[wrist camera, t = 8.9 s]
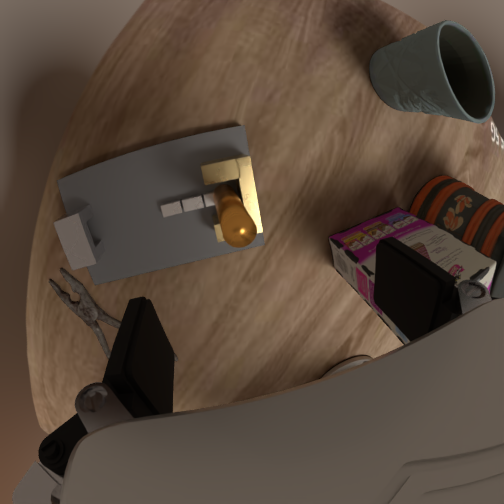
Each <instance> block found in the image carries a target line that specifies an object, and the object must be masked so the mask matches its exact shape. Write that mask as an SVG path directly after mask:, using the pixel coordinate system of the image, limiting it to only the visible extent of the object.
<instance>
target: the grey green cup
mask: <svg viewBox="0 0 504 504" xmlns="http://www.w3.org/2000/svg"><path fill="white" fill-rule="evenodd" d="M369 72H370V78H371V81H372V85H373V87H374V89H375V91H376V92H377V94H378V95H379V96H380V99H381V100H383V101H384V102H385V103H386V104H387V105H388V106H390V107H392V108H394V109H396V110H399V111H407V112H421V111H422V112H424V113H425V114H434V115H443V116H447V117H452V118H457V119H462V120H466V121H470V122H474V123H484V122H485V121H487V120H488V119H489V118H490V116H491V114H492V111H493V108H494V102H495V87H494V80H493V76H492V73H491V69H490V66H489V63H488V60H487V58H486V56H485V54H484V52H483V50H482V48H481V47H480V45H479V43H478V42H477V41H476V39H475V38H474V37H473V35H472V34H471V33H470V32H469V31H468V30H467V29H466V28H464V27H463V26H462V25H460V24H458V23H456V22H453V21H447V20H445V21H442V22H440V23H437V24H435V25H433V26H430V27H428V28H426V29H423V30H421V31H418V32H417V33H416V34H412V35H409V36H407V37H405V38H402V40H401V41H398V42H395V43H391V44H389V45H387V46H384V47H382V48H380V49H379V50H377V51H376V52H375V53H374V54H373V56H372V58H371V60H370V66H369Z"/></svg>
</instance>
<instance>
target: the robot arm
mask: <svg viewBox="0 0 504 504" xmlns="http://www.w3.org/2000/svg"><path fill="white" fill-rule="evenodd" d="M455 281H456V277H454V276H453V275H451V274H450V273H448V272H447V271H446V270H444V269H443V268H441V267H440V266H438V265H437V264H435V263H434V262H432V261H431V260H429V259H428V258H426V257H424V256H423V255H421V254H420V253H418V252H417V251H415V250H414V249H412V248H410V247H409V246H407V245H406V244H404V243H402V242H401V241H399V240H397V239H396V238H394V237H388V238H384V239H381V240H380V241H379V243H378V244H377V246H376V263H375V281H374V294H373V299H374V302H375V304H376V305H377V306H378V307H379V308H380V309H381V310H382V311H383V312H384V314H385V315H386V316H387V317H388V318H389V319H390V320H391V321H392V322H393V323H394V324H395V325H396V326H397V327H398V329H399V330H400V331H401V332H402V333H403V334H404V335H405V336H406V337H407V338H408V340H409V341H410V342H409V343H407V344H405V345H403V346H401V347H399V348H397V349H395V350H392V351H390V352H388V353H386V354H383V355H381V356H379V357H376V358H374V359H372V358H371V357H368V356H359V357H355V358H351V359H348V360H346V361H344V362H342V363H340V364H338V365H337V366H335V367H333V368H332V369H331V370H329V371H328V372H327V373H326V374H325V375H324V376H323V377H322V378H321V379H318V380H315V381H312V382H309V383H306V384H303V385H299V386H296V387H293V388H289V389H286V390H282V391H279V392H275V393H271V394H267V395H263V396H259V397H255V398H251V399H247V400H242V401H238V402H233V403H228V404H223V405H217V406H212V407H207V408H201V409H195V410H189V411H182V412H175V413H173V381H174V361H175V356H174V351H173V349H172V346H171V344H170V342H169V340H168V338H167V336H166V334H165V332H164V329H163V327H162V325H161V323H160V321H159V318H158V316H157V314H156V311H155V309H154V307H153V304H152V302H151V300H150V299H147V300H146V298H145V297H138V298H134V299H130V300H129V303H128V305H127V308H126V311H125V314H124V316H123V319H122V322H121V325H120V328H119V331H118V334H117V337H116V339H115V342H114V345H113V348H112V351H111V354H110V357H109V361H108V364H107V367H106V371H105V374H104V378H103V381H102V383H101V382H96V383H92V384H89V385H87V386H85V387H84V388H83V389H82V390H81V391H80V392H79V393H78V395H77V397H76V400H75V408H76V411H77V414H76V415H74V416H73V417H72V418H70V419H69V420H68V421H67V422H65V423H64V424H63V425H61V426H60V427H59V428H58V429H56V430H55V431H54V432H52V433H51V434H50V435H49V436H47V437H46V438H45V439H44V440H43V441H42V443H41V445H40V447H39V459H40V462H39V463H38V462H36V461H35V462H34V463H33V465H32V466H31V467H30V469H29V470H28V471H27V473H26V474H25V476H24V477H23V478H22V480H21V481H20V483H19V484H18V486H17V487H16V489H15V490H14V492H13V498H12V500H13V504H504V298H496V297H491V296H490V293H489V290H488V289H487V287H486V286H485V285H484V284H482V283H480V282H478V281H476V280H463V281H461V282H460V283H459V284H458V287H455V286H454V285H455Z"/></svg>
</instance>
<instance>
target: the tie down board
mask: <svg viewBox="0 0 504 504" xmlns="http://www.w3.org/2000/svg"><path fill="white" fill-rule="evenodd" d="M241 154H245V155H248V156H250V154H249V149H248V143H247V137H246V132H245V126H244V125H243V126H237V127H231V128H226V129H221V130H216V131H211V132H206V133H202V134H197V135H193V136H188V137H184V138H180V139H176V140H172V141H169V142H165V143H161V144H158V145H154V146H151V147H147V148H144V149H140V150H137V151H134V152H131V153H128V154H125V155H122V156H119V157H116V158H113V159H110V160H107V161H104V162H102V163H99V164H96V165H94V166H91V167H88V168H86V169H83V170H81V171H78V172H76V173H73V174H71V175H69V176H66V177H64V178H62V179H59V180H57V183H58V187H59V190H60V194H61V197H62V201H63V204H64V207H65V210H66V213H68V212H71V211H73V210H76V209H79V208H81V207H84V206H87V205H90V206H91V210H92V213H93V217H92V218H91V219H89V220H88V221H87V222H86V223H87V226H88V229H89V231H90V234H91V237H92V240H93V242H96V241H100V240H102V242H103V244H104V247H105V250H106V251H105V252H104V254H103V255H102V257H101V258H100V260H99V261H98V263H97V264H94V265H90V266H87V268H88V271H89V273H90V275H91V277H92V280H93V282H94V284H95V285H98V284H102V283H107V282H111V281H115V280H119V279H123V278H127V277H131V276H135V275H140V274H144V273H148V272H152V271H156V270H160V269H165V268H169V267H173V266H177V265H181V264H185V263H190V262H194V261H198V260H202V259H206V258H211V257H215V256H219V255H223V254H228V253H232V252H236V251H240V250H244V249H249V248H253V247H257V246H261V245H265V243H264V237H263V232H261V233H257V234H256V237H255V239H254V241H253V242H252V243H251V244H249V245H248V246H245V247H242V248H236V247H232V246H230V245H229V244H227V243H226V241H222V242H218V241H217V236H216V232H215V228H214V223H213V218H212V215H215V214H217V211H216V207H215V205H212V206H208V207H206V204H205V200H204V195H203V193H207V192H212V191H214V190H215V188H216V187H217V186H219V185H222V184H227V185H229V186H231V187H232V188H233V190H234V191H235V193H236V194H237V196H238V191H237V186H236V180H235V179H232V180H227V181H223V182H218V183H214V184H209V185H205V184H204V179H203V174H202V170H201V163H203V162H207V161H212V160H216V159H221V158H226V157H231V156H236V155H241ZM199 194H201V195H202V199H203V204H204V208H199V209H195V210H191V211H187V212H185V211H184V208H183V204H182V199H183V198H187V197H191V196H195V195H199ZM238 197H239V196H238ZM179 199H180V201H181V205H182V208H183V213H179V214H175V215H171V216H167V217H163V213H162V210H161V204H163V203H167V202H171V201H175V200H179Z"/></svg>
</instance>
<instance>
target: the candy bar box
mask: <svg viewBox="0 0 504 504" xmlns="http://www.w3.org/2000/svg"><path fill="white" fill-rule="evenodd" d="M388 237H394V238H396V239H397V240H399V241H401V242H402V243H404V244H406V245H407V246H409V247H410V248H412V249H414V250H415V251H417V252H418V253H420V254H421V255H423V256H424V257H426V258H428V259H429V260H431V261H432V262H434V263H435V264H437V265H438V266H440V267H441V268H443V269H444V270H446V271H447V272H448V273H450V274H451V275H453V276H454V277H456V281H455V285H454V286H455V287H458V284H459V283H460V282H461V281H463V280H476V281H478V282H480V283H482V284H484V285H485V286H486V287H487V289H488V290H489V293H490V290H491V286H492V282H493V277H494V272H495V267H496V261H494V260H493V259H491V258H490V257H488V256H486V255H485V254H483V253H482V252H480V251H478V250H477V249H475V248H474V247H472V246H470V245H469V244H467V243H465V242H463V241H462V240H460V239H458V238H456V237H455V236H453V235H451V234H450V233H448V232H446V231H444V230H442V229H440V228H439V227H437V226H435V225H433V224H431V223H429V222H427V221H425V220H423V219H421V218H419V217H418V216H416V215H414V214H411V213H409V212H407V211H405V210H403V209H401V208H399V207H398V208H395V209H393V210H390V211H388V212H386V213H384V214H382V215H379V216H377V217H375V218H372V219H370V220H368V221H366V222H363V223H361V224H359V225H356V226H354V227H352V228H349V229H347V230H344V231H342V232H340V233H337V234H335V235H333V236H330V237H329V242H330V247H331V251H332V257H333V263H334V267H335V270H336V271H337V272H338V273H339V274H340V275H341V276H342V277H343V278H344V279H345V280H346V281H347V282H348V283H349V284H350V285H351V287H352V288H353V289H354V290H355V291H356V292H357V293H358V294H359V295H360V296H361V297H362V298H363V299H364V300H365V301H366V303H367V304H368V305H369V306H370V307H371V308H372V309H373V310H374V311H375V313H376V314H377V315H378V316H379V317H380V318H381V319H382V320H383V322H384V323H385V324H386V325H387V326H388V327H389V328H390V329H391V330H392V332H393V333H394V334H395V335H396V336H397V337H398V339H399V340H400V341H401V342H402V343H403V344H404V345H405V344H407V343H409V342H410V341H409V340H408V338H407V337H406V336H405V335H404V334H403V333H402V332H401V331H400V330H399V329H398V327H397V326H396V325H395V324H394V323H393V322H392V321H391V320H390V319H389V318H388V317H387V316H386V315H385V314H384V312H383V311H382V310H381V309H380V308H379V307H378V306H377V305H376V304H375V302H374V299H373V294H374V281H375V263H376V246H377V244H378V243H379V241H380V240H381V239H384V238H388Z"/></svg>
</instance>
